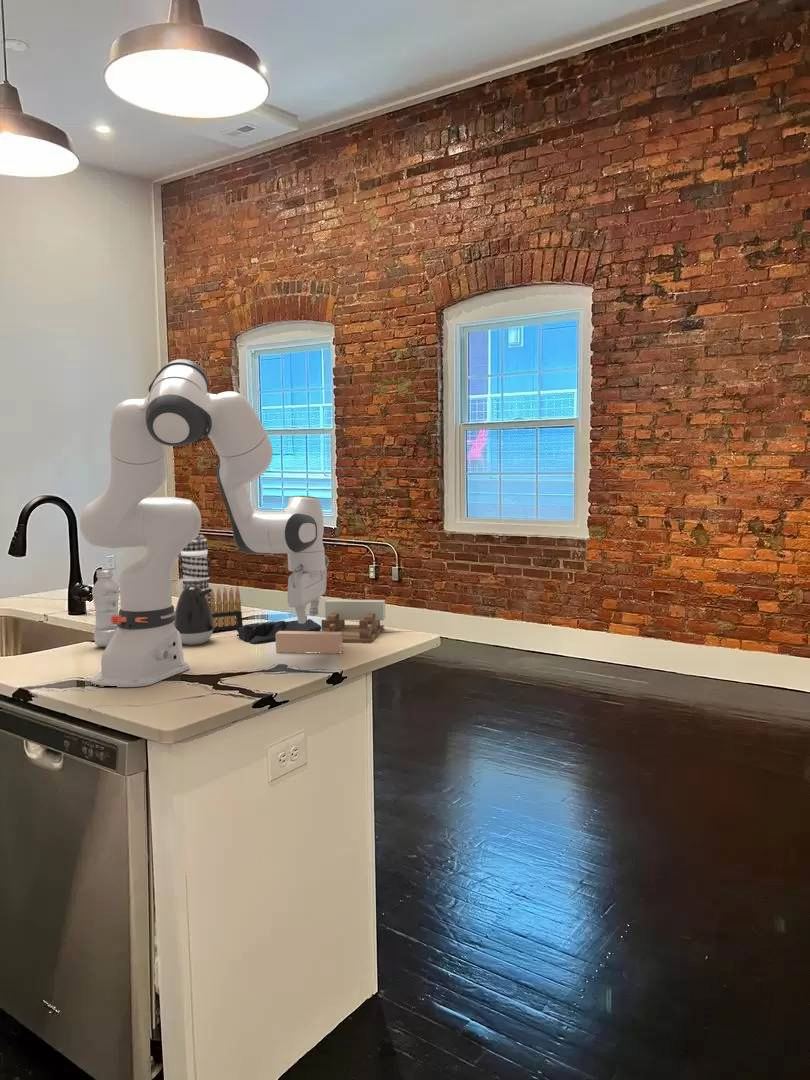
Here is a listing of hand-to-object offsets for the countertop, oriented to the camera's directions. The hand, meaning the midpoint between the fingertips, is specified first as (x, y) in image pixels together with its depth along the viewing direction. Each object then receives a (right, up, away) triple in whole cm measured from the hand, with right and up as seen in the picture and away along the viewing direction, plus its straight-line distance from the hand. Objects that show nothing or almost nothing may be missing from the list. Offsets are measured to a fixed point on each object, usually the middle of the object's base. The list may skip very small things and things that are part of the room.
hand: (308, 619), depth 193 cm
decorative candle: (-40, -4, +50) cm, 64 cm away
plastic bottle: (-53, -8, +11) cm, 55 cm away
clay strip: (0, -8, +1) cm, 8 cm away
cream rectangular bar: (+10, -2, +23) cm, 25 cm away
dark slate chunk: (-10, -7, +22) cm, 25 cm away
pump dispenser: (-31, -8, +14) cm, 35 cm away
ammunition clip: (-27, -6, +29) cm, 40 cm away
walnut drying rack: (+9, -6, +19) cm, 22 cm away
